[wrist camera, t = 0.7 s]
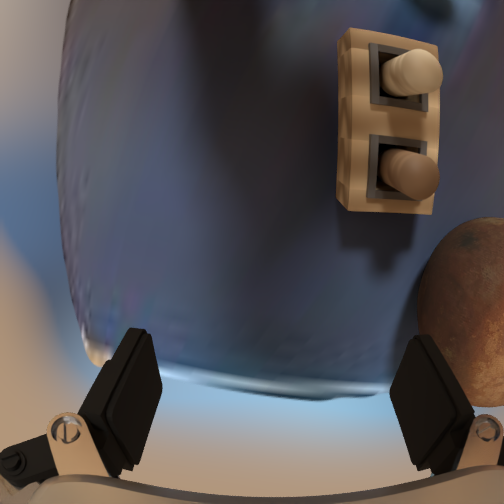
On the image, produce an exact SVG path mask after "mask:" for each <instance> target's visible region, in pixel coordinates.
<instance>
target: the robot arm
mask: <svg viewBox="0 0 504 504" xmlns="http://www.w3.org/2000/svg"><path fill="white" fill-rule="evenodd" d="M161 394H162V381H161V377H160V373H159V369H158V364H157V360H156V356H155V351H154V346H153V341H152V337H151V334H147V332H146V330H145V329H138V328H129V329H128V331H127V332H126V334H125V336H124V338H123V339H122V341H121V343H120V345H119V346H118V348H117V350H116V352H115V353H114V355H113V357H112V359H111V360H108V361H106V362H105V364H104V365H103V367H102V369H101V371H100V373H99V374H98V376H97V378H96V380H95V382H94V384H93V385H92V387H91V389H90V391H89V393H88V394H87V396H86V398H85V400H84V402H83V404H82V406H81V408H80V410H79V412H78V414H75V413H69V412H66V413H61V414H59V415H57V416H55V417H54V418H53V419H52V420H51V421H50V422H49V424H48V427H47V434H44V435H41V436H39V437H36V438H33V439H30V440H27V441H25V442H22V443H19V444H16V445H13V446H10V447H7V448H6V449H4V450H3V451H2V452H1V453H0V504H504V436H503V433H504V430H503V426H502V424H501V423H500V421H499V420H498V419H497V418H496V417H493V416H492V415H488V414H481V415H479V416H477V417H475V415H474V412H475V411H474V410H473V408H472V406H471V404H470V402H469V400H468V398H467V396H466V395H465V393H464V391H463V389H462V387H461V386H460V384H459V382H458V380H457V379H456V377H455V375H454V373H453V372H452V370H451V368H450V366H449V365H448V363H447V361H446V360H445V358H444V356H443V355H442V353H441V351H440V350H439V348H438V346H437V345H436V343H435V342H434V340H433V338H432V337H431V336H430V335H429V334H424V335H415V336H414V337H413V339H411V340H410V341H409V343H408V345H407V348H406V351H405V353H404V356H403V359H402V361H401V364H400V366H399V369H398V371H397V373H396V376H395V378H394V380H393V383H392V385H391V387H390V393H389V394H390V398H391V401H392V404H393V407H394V409H395V413H396V415H397V418H398V421H399V424H400V427H401V430H402V433H403V437H404V439H405V443H406V446H407V449H408V452H409V455H410V459H411V462H412V463H413V465H416V467H417V470H418V471H421V470H425V469H429V468H430V469H431V472H432V473H431V476H430V477H429V478H425V479H421V480H417V481H412V482H408V483H403V484H399V485H394V486H389V487H383V488H378V489H372V490H366V491H358V492H351V493H342V494H333V495H322V496H306V497H242V496H227V495H215V494H205V493H197V492H189V491H182V490H176V489H169V488H163V487H157V486H152V485H147V484H142V483H137V482H132V481H127V480H122V479H120V477H119V475H120V474H121V472H122V469H126V470H129V471H133V467H134V464H135V465H138V464H139V462H140V460H141V456H142V453H143V450H144V447H145V443H146V440H147V437H148V434H149V431H150V428H151V424H152V421H153V418H154V415H155V412H156V409H157V406H158V403H159V400H160V397H161Z"/></svg>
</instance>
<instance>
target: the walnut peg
mask: <svg viewBox="0 0 504 504" xmlns="http://www.w3.org/2000/svg"><path fill="white" fill-rule="evenodd" d="M377 175H378V177H379V178H380V179H381V180H382V181H383V182H384V183H386V184H388V185H389V186H391V187H393V188H395V189H397V190H398V191H400V192H402V193H404V194H405V195H407V196H409V197H411V198H412V199H415V200H425V199H427V198H429V197H430V196H432V195H433V194H434V192H435V191H436V189H437V187H438V184H439V178H440V176H439V170H438V167H437V165H436V163H435V162H434V161H433V160H432V159H431V158H430V157H428V156H425V155H422V154H418V153H414V152H410V151H406V150H401V149H397V148H388V149H385V150H384V151H382V152H381V153H380V155H379V156H378V164H377Z"/></svg>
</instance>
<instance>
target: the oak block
mask: <svg viewBox="0 0 504 504" xmlns="http://www.w3.org/2000/svg"><path fill="white" fill-rule="evenodd" d="M414 49H422V50H425V51H428V52H429V53H431V54H432V55H433V56H434V57H435V58H436V59H437V60H438V49H437V46H435V45H431V44H428V43H424V42H420V41H416V40H412V39H408V38H404V37H399V36H395V35H390V34H385V33H380V32H374V31H368V30H362V29H355V28H349V29H348V30H347V32H346V33H345V34H344V35H343V36H342V37H341V38H340V39H339V40H338V41H337V51H338V100H339V109H338V160H337V183H336V198H337V199H338V200H339V202H340V203H341V204H342V205H343V206H344V207H345V208H346V209H347V210H348V211H366V212H390V213H411V214H429V215H431V214H432V207H433V200H434V194H433V195H432V196H430V197H429V198H427V199H425V200H415V199H412V198H411V197H409V196H407V195H405V194H404V193H402V192H400V191H398V190H397V189H395V188H393V187H391V186H389V185H388V184H386V183H384V182H382V181H376V179H377V164H378V144H379V143H384V144H393V145H397V149H401V150H406V151H410V152H414V153H418V154H422V155H425V156H428V157H430V158H431V159H432V160H433V161H434V162H435V163H436V165H437V161H438V146H439V122H440V87H439V88H438V89H437V90H436V91H434V92H431V93H424V94H416V95H409V96H402V97H398V99H394V98H388V97H381V96H379V65H382V64H383V63H385V62H387V61H389V60H391V59H393V58H395V57H398V56H400V55H402V54H404V53H407V52H409V51H411V50H414Z"/></svg>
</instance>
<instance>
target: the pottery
mask: <svg viewBox="0 0 504 504" xmlns="http://www.w3.org/2000/svg"><path fill="white" fill-rule="evenodd" d="M417 317H418V328H419V334H420V335H424V334H429V335H430V336H431V337H432V338H433V340H434V342H435V343H436V345H437V346H438V348H439V350H440V351H441V353H442V355H443V356H444V358H445V360H446V361H447V363H448V365H449V366H450V368H451V370H452V372H453V373H454V375H455V377H456V379H457V380H458V382H459V384H460V386H461V387H462V389H463V391H464V393H465V395H466V396H467V398H468V400H469V402H470V404H471V405H472V406H477V407H497V406H504V218H495V217H483V218H477V219H474V220H470V221H467V222H465V223H463V224H461V225H459V226H457V227H456V228H454V229H453V230H452V231H450V232H449V233H448V234H447V235H446V236H445V237H444V238H443V239H442V240H441V241H440V243H439V244H438V245H437V247H436V248H435V250H434V251H433V253H432V255H431V257H430V259H429V261H428V264H427V266H426V268H425V271H424V273H423V276H422V280H421V283H420V287H419V292H418V299H417Z"/></svg>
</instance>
